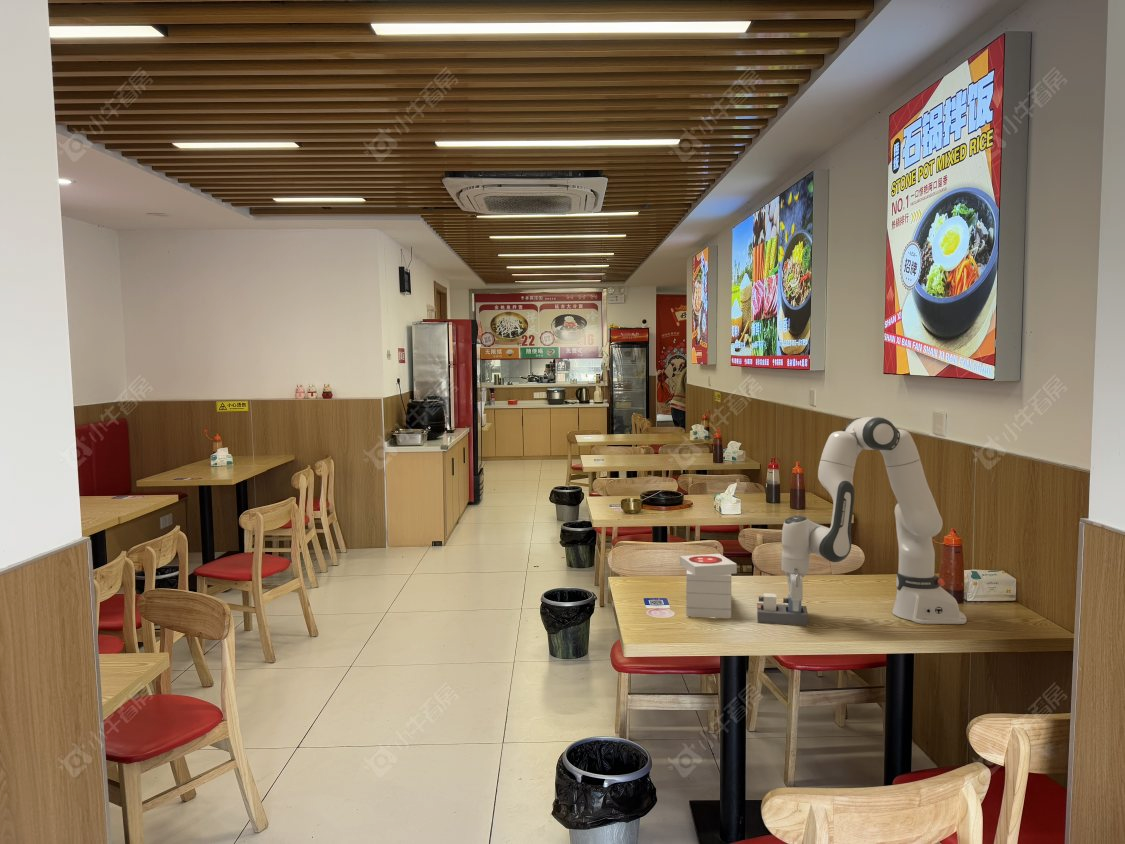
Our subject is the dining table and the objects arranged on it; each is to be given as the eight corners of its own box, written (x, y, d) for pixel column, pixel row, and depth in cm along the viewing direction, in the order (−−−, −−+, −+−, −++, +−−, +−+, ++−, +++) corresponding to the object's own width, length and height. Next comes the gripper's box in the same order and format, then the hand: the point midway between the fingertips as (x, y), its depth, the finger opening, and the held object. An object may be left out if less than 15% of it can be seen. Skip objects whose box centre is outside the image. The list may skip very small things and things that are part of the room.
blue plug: (800, 618, 258) (800, 595, 257) (801, 622, 254) (801, 598, 253) (782, 617, 259) (783, 594, 258) (783, 621, 255) (783, 597, 254)
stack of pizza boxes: (732, 595, 285) (732, 547, 283) (737, 621, 255) (737, 567, 254) (680, 593, 288) (680, 545, 287) (679, 618, 258) (679, 565, 257)
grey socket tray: (805, 616, 260) (806, 604, 260) (808, 625, 250) (808, 614, 250) (757, 612, 264) (757, 601, 263) (757, 622, 254) (757, 610, 254)
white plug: (775, 617, 259) (775, 593, 259) (776, 620, 256) (776, 597, 255) (758, 615, 261) (758, 592, 260) (758, 619, 257) (758, 596, 256)
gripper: (807, 574, 244) (806, 616, 245) (803, 558, 264) (802, 598, 265) (786, 573, 245) (786, 615, 246) (783, 557, 265) (783, 596, 266)
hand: (794, 606), depth 256 cm, fingers open, 8 cm apart
